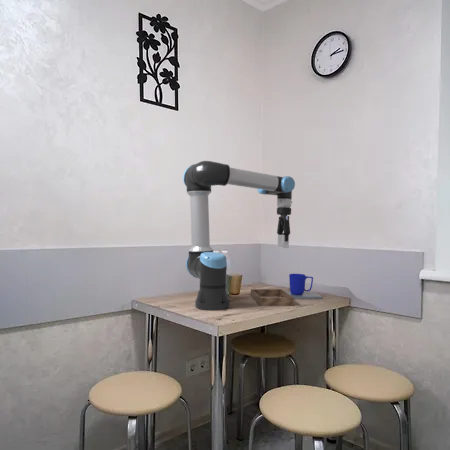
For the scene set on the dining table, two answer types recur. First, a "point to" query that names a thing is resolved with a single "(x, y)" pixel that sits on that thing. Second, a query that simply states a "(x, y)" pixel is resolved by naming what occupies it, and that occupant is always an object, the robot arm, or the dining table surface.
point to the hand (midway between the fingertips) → (282, 247)
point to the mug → (298, 283)
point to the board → (306, 295)
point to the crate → (283, 301)
